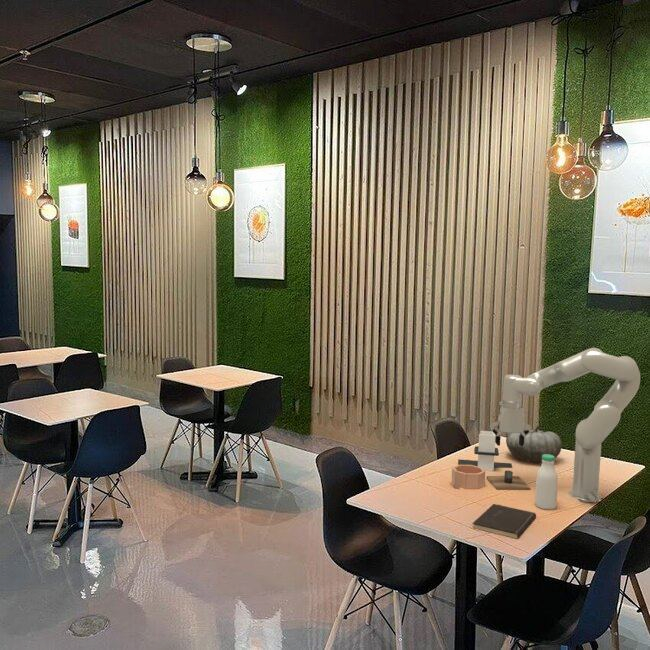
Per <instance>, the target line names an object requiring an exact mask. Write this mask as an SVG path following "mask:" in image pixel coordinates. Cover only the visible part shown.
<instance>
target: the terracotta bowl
mask: <svg viewBox="0 0 650 650" xmlns="http://www.w3.org/2000/svg"><path fill="white" fill-rule="evenodd" d="M451 485H452V487H453V488H454V489H457V490H461V489H464V490H479V489H482V488H483V487H485V485H486V470H484V469H483V468H481V467H477V466H473V465H458V464H457V465H455V466H452V467H451ZM460 488H461V489H460Z"/></svg>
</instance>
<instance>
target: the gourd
mask: <svg viewBox="0 0 650 650" xmlns="http://www.w3.org/2000/svg"><path fill="white" fill-rule="evenodd" d="M539 429H540V426H539V425H536V427H535V428H534V429H530V431H529V433H528V434H527V435H526V436H525V437H524V444H523V446H520V445H519V435H520V433H506V434H507V435H506V437H505V443H506V446H507V449H508V451H509V453H510V454H511V455H512V456H513V457H514V458H517V459H520V460H522V461H527V462H529V463H532V464H539V463H542V455H544V454H549V455H553V456H554V457H555V459H556V458H557V457H558V456H559V455H560V454H561V452H562V451H561V450H562V445H563V443H562V440H561V438H560V436H559V435H558V434H557V433H555V432H553V431H543V430H539Z"/></svg>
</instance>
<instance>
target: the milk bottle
mask: <svg viewBox="0 0 650 650" xmlns="http://www.w3.org/2000/svg"><path fill="white" fill-rule="evenodd" d="M555 459H556V458H555V457H554V456H553V455H549V454H544V455H542V462H541V466H540V468H539V469H538V471H537V474H536V483H535V497H534V498H535V499H534V500H535V501H534V505H535V506H536V507H537V508H539V509H543V510H549V511H550V510H555V509H556V508H557V503H558V501H557V499H558V498H557V497H558V481H559V480H558V472H557V471H556V467H555Z"/></svg>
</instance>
